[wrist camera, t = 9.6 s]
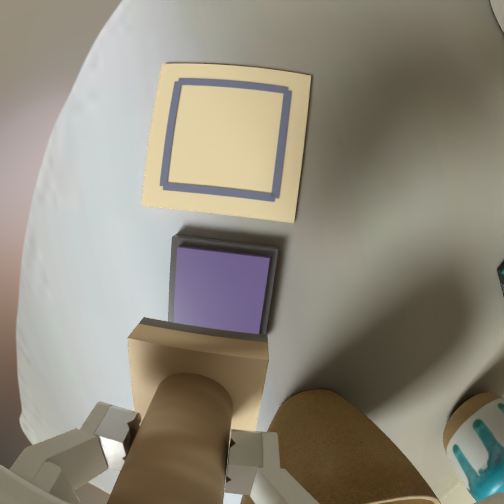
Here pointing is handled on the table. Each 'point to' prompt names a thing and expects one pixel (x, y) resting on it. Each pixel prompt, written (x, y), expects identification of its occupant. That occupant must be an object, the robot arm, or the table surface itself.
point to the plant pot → (343, 454)
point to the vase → (478, 444)
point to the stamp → (188, 409)
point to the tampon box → (501, 275)
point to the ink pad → (221, 283)
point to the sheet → (227, 141)
